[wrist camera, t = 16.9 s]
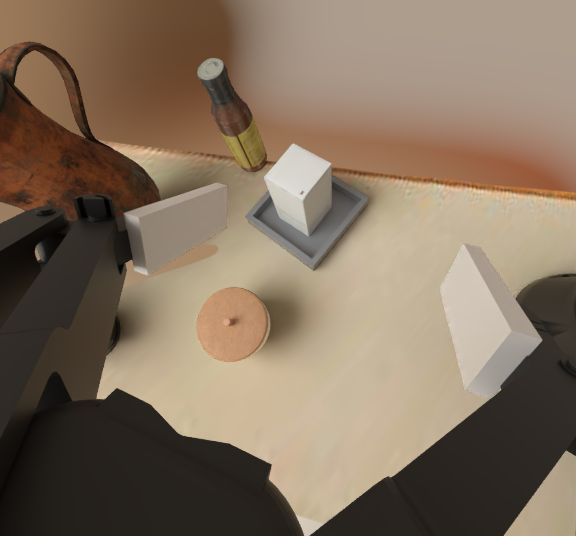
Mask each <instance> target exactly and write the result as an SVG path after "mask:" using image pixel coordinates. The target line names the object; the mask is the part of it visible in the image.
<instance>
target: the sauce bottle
mask: <svg viewBox="0 0 576 536" xmlns="http://www.w3.org/2000/svg"><path fill="white" fill-rule="evenodd" d="M198 76H199V79H200V81H201V83H202V84H203V85H204V86H205V87H206V89H207V91H208V93H209V95H210V98H211V100H212V106H211V111H212V115H213V117H214V120H215V122H216V123H217V125H218V127H219V130H220V132H221V133H222V135H223V137H224V139H225V141H226V142H227V144H228V146H229V148H230V149H231V151H232V153H233V155H234V157H235V159H236V161H237V163H238V164H239V165H240V166H241V167H242V168H243V169H244V170H245V171H257V170H259V169H260V168H262V167H263V166H264V165H265V163H266V159H267V155H266V152H265V148H264V145H263V142H262V140H261V137H260V135H259V132H258V130H257V127H256V124H255V121H254V119H253V116H252V114H251V112H250V109H249V108H248V106H247V104H246V103H245V102H243V101H242V99H240V97H239V96H238V95H237V93H236V92H235V91H234V88H233V86H232V85H231V83H230V80H229V78H228V74H227V69H226V67H225V65H224V63H223V61H221V60H220V59H215V58H211V59H208V60H206V61H205V62H203V63H202V64H201V65H200V67H199V68H198Z"/></svg>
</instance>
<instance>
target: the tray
mask: <svg viewBox="0 0 576 536" xmlns="http://www.w3.org/2000/svg"><path fill="white" fill-rule="evenodd" d="M368 201H369V197H368V196H366V195H364V194H363V193H361V192H359V191H358V190H356V189H354V188H353V187H351V186H349V185H348V184H346V183H344V182H343V181H341V180H339V179H338V178H336V177H334V176H332V208H331V209H330V211H329V212H328V213H327V214H326V216H325V217H324V218H323V220H322V221H321V222H320V223H319V225H318V226H317V227H316V229H315V230H314V231H313V232H312V234H311V235H310V236H309V237H308V236H307V235H305V234H304V233H302V232H301V231H299V230H297V229H296V228H294V227H293V226H291V225H290V224H288V223H286V222H285V221H283V220H282V219H280V218H279V215H278V213H277V210H276V207H275V205H274V202H273V200H272V197H271V195H270V192H269V190H268V192H267V193H266V194H265V195H264V196H263V197H262V198H261V199H260V201H259V202H258V203H257V204H256V205H255V206H254V207H253V208H252V210H251V211H250V212H249V213H248V214H247V215H246V216H245V217H246V219H247V220H248V222H249V223H250V224H251V225H253V226H254V227H256V228H257V229H258V230H260V231H261V232H262V233H264V234H265V235H266V236H268V237H269V238H270V239H272V240H273V241H274V242H276V243H277V244H278V245H280V246H281V247H282V248H284V249H285V250H286V251H288V252H289V253H291V254H292V255H293V256H295V257H296V258H297V259H299V260H300V261H301V262H303V263H304V264H305V265H307V266H308V267H309V268H311V269H312V270H313V271H314V270H315V269H316V267H317V266H318V265H319V264H320V262H321V261H322V260H323V259H324V258H325V256H326V255H327V254H328V253H329V251H330V250H331V249H332V248H333V246H334V245H335V244H336V243H337V242H338V240H339V239H340V238H341V237H342V235H343V234H344V233H345V232H346V230H347V229H348V228H349V227H350V226H351V224H352V223H353V222H354V221H355V219H356V218H357V217H358V216H359V215H360V213H361V212H362V211H363V210H364V208H365V207H366V206H367V205H368Z"/></svg>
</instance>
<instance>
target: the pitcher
mask: <svg viewBox="0 0 576 536" xmlns="http://www.w3.org/2000/svg"><path fill="white" fill-rule="evenodd" d="M33 50H36V51H38V52H40V53H42V54H44V55H45V56H46V57H47V58H48V59H50V60H51V61H52V62H53V63H54V65H55V66H56V67H57V69H58V70H59V71H60V74H61V76H62V78H63V80H64V83H65V86H66V89H67V92H68V95H69V99H70V103H71V107H72V111H73V114H74V117H75V120H76V123H77V125H78V126H79V129H80V131H81V132H82V133H83V135H84V136H85V137H86V138H87V139H86V138H84V137H81V136H79V135H77V134H74V133H72V132H70V131H68V130H67V129H65V128H64V127H62V126H61V125H59V124H58V123H57V122H55V121H53V120H52V119H50V118H49V117H47V116H46V115H45V114H43V113H42V112H41V111H40V110H38V109H37V108H36V107H35V106H33V105H32V104H31V102H30V101H29V100H28V99H27V97H26V96H25V95H24V94H23V93H22V92H21V91H20V90H19V89H18V88H17V87H16V86H15V85H14V82H15V76H16V71H17V66H18V65H19V63H20V61H21V60H22V58H23V57H24V56H25V55H26V54H28V53H30V52H31V51H33ZM86 194H103V195H107V196H110V197H111V198H112V202H113V207H114V212H115V217H116V218H117V217H120V216H123V215H124V214H123V213H125V212H128V211H131V210H134V209H137V208H140V207H143V206H147V205H150V204H153V203H156V202H159V201H161V200H160V195H159V190H158V188H157V186H156V184H155V183H154V181H153V180H152V179H151V177H150V176H149V175H148V174H147V172H146V171H145V170H144V169H143V168H142V167H141V166H140V165H138V164H137V163H136V162H134V161H133V160H131V159H129V158H128V157H126V156H124V155H123V154H121V153H119V152H118V151H115V150H114V149H113V148H111V147H109V146H107V145H105V144H103V143H101V142H99V141H98V140H96V139H95V138H94V136H93V135H92V133H91V131H90V128H89V125H88V121H87V117H86V114H85V109H84V105H83V100H82V96H81V92H80V87H79V83H78V80H77V77H76V75H75V73H74V70H73V69H72V68H71V66H70V65H69V64H68V62H67V61H66V60H65V59H64V58H63V57H62V56H60V54H58V53H57V52H56V51H54V50H52V49H50V48H48V47H46V46H44V45H42V44H40V43H35V42H24V43H19V44H15V45H13V46H11V47H9V48H7V49H5V50H4V51H3V52H2V53H1V54H0V202H3V203H6V204H9V205H13V206H16V207H19V208H21V209H23V210H24V211H27V210H30V209H34V208H37V207H40V206H50V207H58V208H62V209H64V210H65V213H66V217H67V220H73V221H77V220H78V216H77V212H76V209H75V205H74V202H73V198H75V197H77V196H80V195H86Z"/></svg>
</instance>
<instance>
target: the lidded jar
mask: <svg viewBox="0 0 576 536" xmlns="http://www.w3.org/2000/svg"><path fill="white" fill-rule="evenodd" d="M269 332H270V316H269V313H268V310H267V309H266V307H265V305H264V304H263V302H262V301H261V300H260V299H259V298H258V297H257V296H256V295H255V294H253V293H252V292H250V291H248V290H246V289H243V288H237V287H232V288H226V289H223V290H220V291H218V292H216V293H215V294H213V295H212V296H211V297H210V298H209V299H208V300H207V301H206V302H205V304H204V305H203V307H202V308H201V310H200V313H199V316H198V320H197V335H198V339H199V341H200V344H201V345H202V347H203V349H204V350H205V351H206V352H207V353H208V354H209V355H210V356H212V357H214V358H215V359H218V360H221V361H226V362H234V361H239V360H242V359H245V358H247V357H250V356H251V355H253V354H255V353H256V352H257V351H258V350H260V349H261V347H262V346H263V345H264V344H265V342H266V340H267V338H268V336H269Z"/></svg>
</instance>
